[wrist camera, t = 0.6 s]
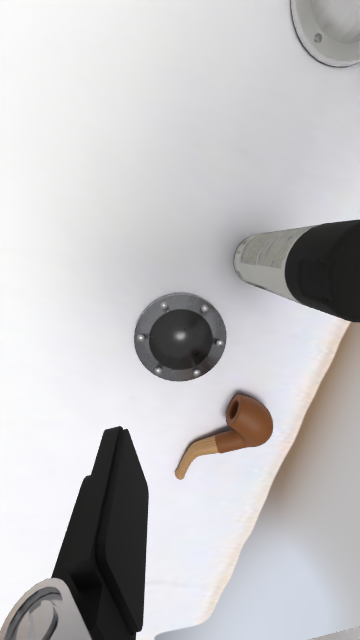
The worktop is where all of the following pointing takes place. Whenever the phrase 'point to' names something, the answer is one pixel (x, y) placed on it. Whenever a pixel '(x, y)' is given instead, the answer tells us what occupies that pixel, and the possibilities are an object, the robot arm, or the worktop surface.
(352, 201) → the worktop surface
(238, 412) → the pipe
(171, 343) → the flange
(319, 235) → the spray can
